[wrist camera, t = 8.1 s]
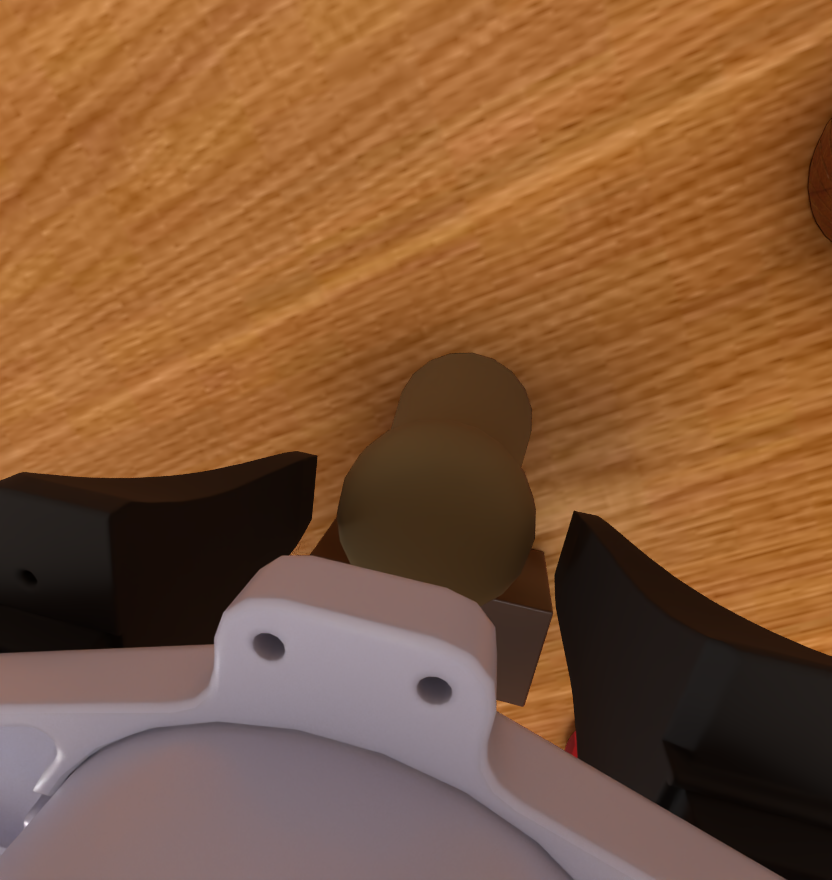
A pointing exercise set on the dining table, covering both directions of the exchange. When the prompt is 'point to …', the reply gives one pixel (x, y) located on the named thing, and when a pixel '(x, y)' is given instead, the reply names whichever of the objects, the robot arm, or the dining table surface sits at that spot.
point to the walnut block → (499, 619)
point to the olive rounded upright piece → (446, 482)
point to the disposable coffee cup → (822, 182)
